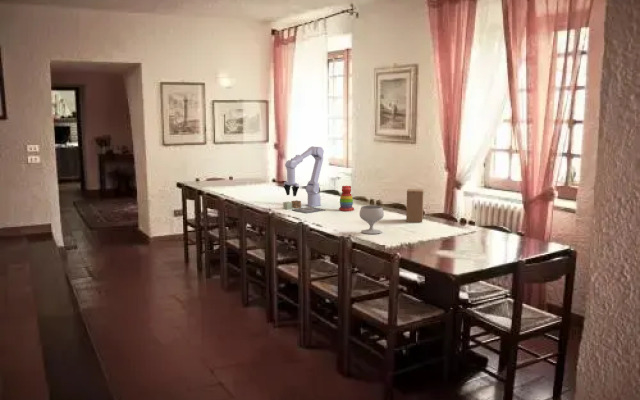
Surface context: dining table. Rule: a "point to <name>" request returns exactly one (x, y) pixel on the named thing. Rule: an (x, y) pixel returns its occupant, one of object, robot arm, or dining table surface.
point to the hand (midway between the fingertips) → (291, 195)
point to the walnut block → (296, 204)
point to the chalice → (371, 217)
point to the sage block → (287, 205)
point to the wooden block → (414, 205)
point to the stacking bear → (346, 199)
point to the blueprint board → (308, 210)
